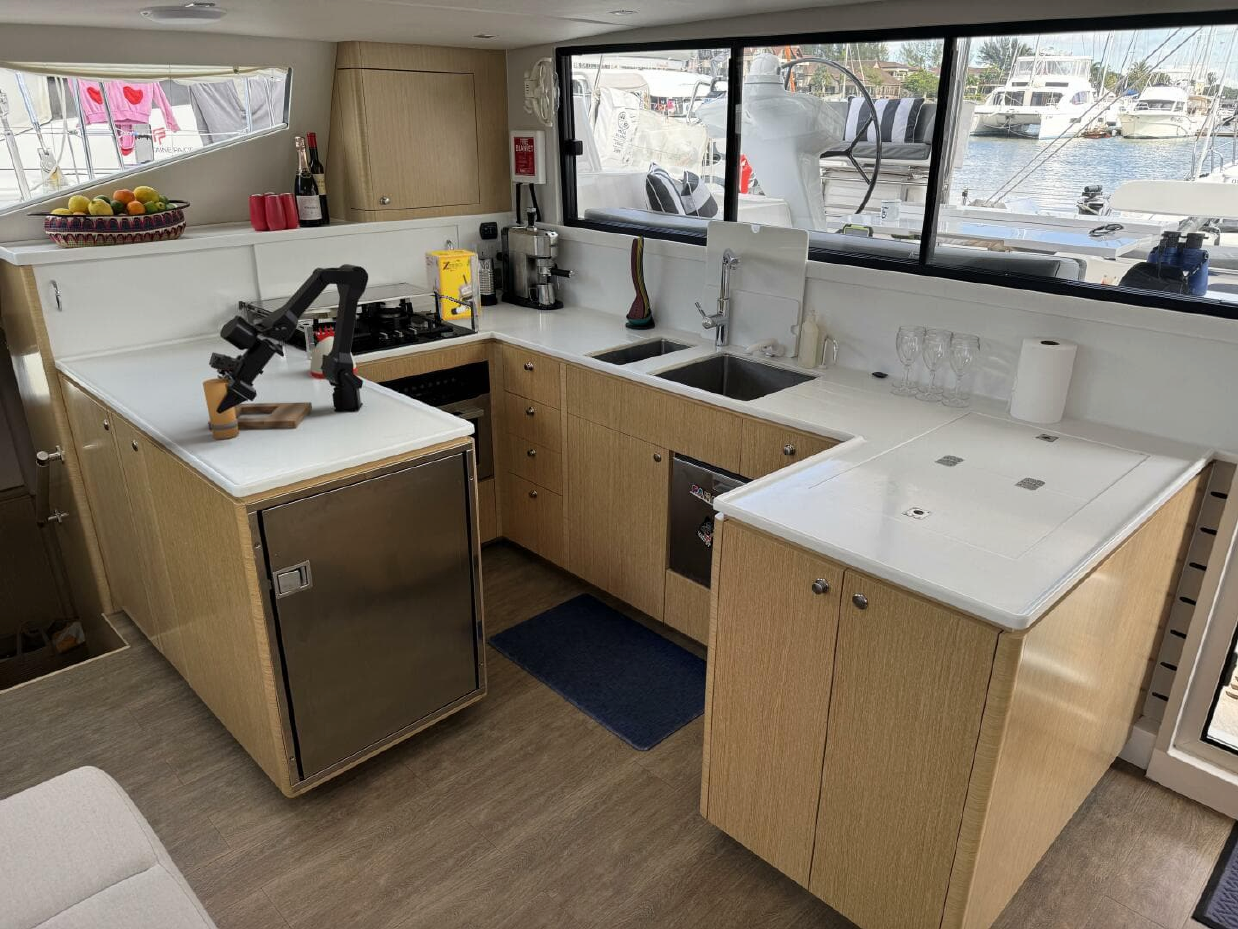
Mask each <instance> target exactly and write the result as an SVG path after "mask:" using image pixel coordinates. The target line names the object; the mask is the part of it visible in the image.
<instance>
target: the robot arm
mask: <svg viewBox="0 0 1238 929" xmlns="http://www.w3.org/2000/svg"><path fill="white" fill-rule="evenodd" d="M368 283H369V273H368V272H367V270H366V269H365V268H364V267H362V266H358V265H354V264H349V263H346V264H345V263H343V264H342V265H340V266H339V267H325V268H323V267H317V268H315V269H314V270H313V271H312V273H311V274H310V276H309V277H308V278H307V279H306V280H305V282H304V283H303V284H302V285H301V286H300V287H299V288H298V289H297V290H296V291H295V293H294V294H293V295H292V296H291V297H290V298H289V299H288V300H287V301H286V303H285V304H284V305H282V306H281V307H279V308H277V309H275V310H273V311H272V312H271V313H269V314H268V315H266V316H265V317H264V318H263V319H262V320H261V321H260V322H257V323H255V324H254V323H253V324H251V323H250V322H248V321H247V320H246V319H245V318H244V317H242V316H241V315H235V316H234V318H232V319H230V320H229V321H227V322H226V323H225V324H223V326H222V328H221V329H220V333H219V336H220V338H222V339H223V340H224V341H226V342H228V344H230V345H233V347H235V348H236V349H238V350H239V351H245V352H244V353H243V354H237V356H236V357H232V356H230V355H226V354H221V353H217V352H213V351H212V353H211V357H210V359H209V363H208V365H209V366H210V367H211V368H212V369H214V370H216V372H217V373H218V374H219V375H218V374H217V378H225V379H228V380H229V384H228V385H229V386H230V387H229V386H228V385H226V384H225V387H226V394H225V396H224V397H223V399H222V401H221V403H220V404H219V406H218V408H217V410H216V412H218V413H219V414H220V413H222V412H224V411H226V410H228V409H230V408H232V407H234V406H236V405H238V404H243V403H245V402H248V401H250V402H253V401H254V400H255V398H257V396H258V395H257V390H256V389H255V388H254V387H253V386H254V383H253V382H254V381H255V379H256V378H257V376H259V375H263V374H264V372H265V371H264V370H263V369H264V368H265V367H266V366H267V365H268V363H269V362H270V361H271V359H272V358H273V357H274V355H275V354H277V355H278V356H281V357H282V358H283V357H285V354H284V346H283V345H282V344H281V343H274V342H273V341H276V342H286V341H288V340H289V339H291V337H292V335H293V334H294V332H295V331H296V329H297V327H298V324H299V320H300V318H301V316H303V314H304V313H305V312H306V311H307V310H308V309H309V307H311V305H312V304H313V303H314V301H315V300H317V298H318V297H319V296H320V295H321V293H322V292H324V291H325V289H326V288H327V287H328V286H329V285H336V289H337V292H338V296H339V300H338V306H337V313H336V320H335V327H334V332H335V333H334V332H333V333H334V339H333V346H332V350H331V352H330V353H329V354H328V356H327V355H323V357H322V366H321V368H320V369H322V374H323V376H324V378H325V379H324V380H326V381H328V383H329V385H330V386H331V387H333V393H332V395H331V396H332V401H333V403H332V404H333V408H334V412H336V413H337V412H342V413H343V412H359V411H360V410H361V408H362V407H363V404H364V403H363V402H362V400H361V394H360V393H361V391H360V389H362V387H363V384H364V381H363V379H361V378H360V377H359V376H357V375H356V373H355V374H354V364H353V360H352V357H351V353H352V352H351V350H352V344H353V340H354V339H353V338H354V337H353V336H354V332H355V325H356V323H355V322H356V317H357V311H358V310H357V309H358V306H359V300H360V299H361V297H362V296H363V294H364V293H365V292H366V288H367V285H368ZM259 336H261V337H264V338H263V339H261V338H260V337H259ZM270 339H272V340H273V341H271V340H270Z"/></svg>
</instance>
